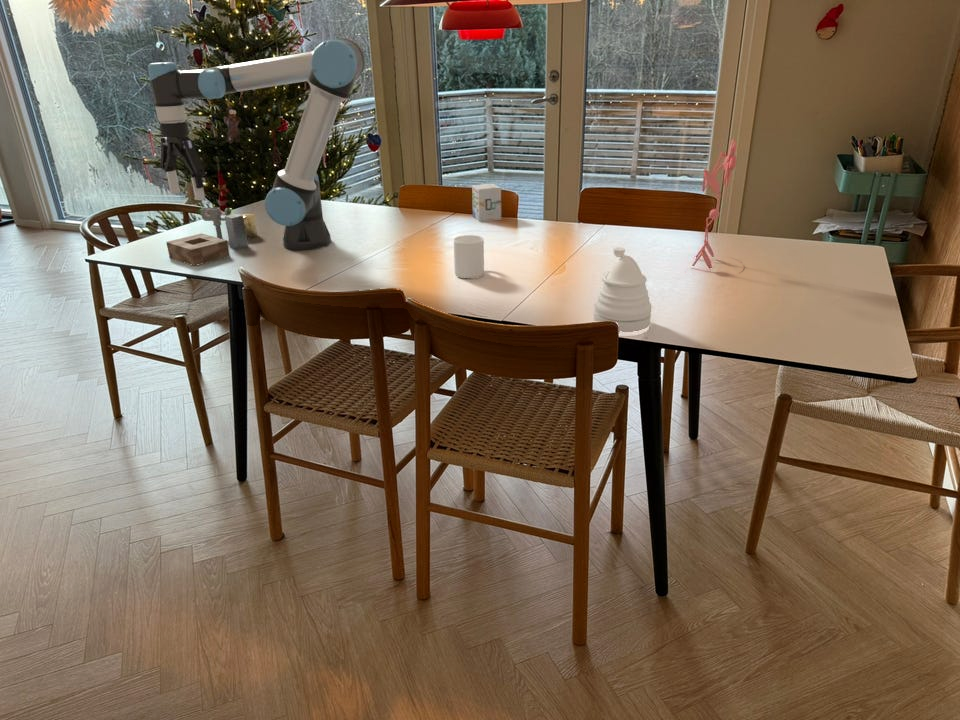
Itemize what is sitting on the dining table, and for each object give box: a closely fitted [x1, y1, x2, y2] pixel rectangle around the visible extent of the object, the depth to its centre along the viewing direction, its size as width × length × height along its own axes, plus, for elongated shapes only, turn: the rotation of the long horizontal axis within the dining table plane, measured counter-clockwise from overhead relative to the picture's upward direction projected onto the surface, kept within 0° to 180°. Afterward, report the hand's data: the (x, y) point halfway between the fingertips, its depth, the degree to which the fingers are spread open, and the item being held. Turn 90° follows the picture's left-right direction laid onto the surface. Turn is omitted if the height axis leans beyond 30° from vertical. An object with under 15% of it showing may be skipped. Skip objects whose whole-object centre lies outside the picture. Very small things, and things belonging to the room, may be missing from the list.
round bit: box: [240, 213, 258, 240], centre depth 234 cm, size 6×6×7 cm
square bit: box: [224, 213, 249, 250], centre depth 223 cm, size 4×4×10 cm
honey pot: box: [593, 246, 652, 332], centre depth 158 cm, size 13×13×18 cm
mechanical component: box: [198, 207, 232, 239], centre depth 232 cm, size 3×10×10 cm, turn 89°
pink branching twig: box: [691, 138, 738, 270], centre depth 192 cm, size 15×26×35 cm, turn 158°
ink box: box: [471, 182, 502, 223], centre depth 250 cm, size 9×8×12 cm
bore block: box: [165, 232, 231, 266], centre depth 214 cm, size 14×12×5 cm
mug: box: [453, 234, 485, 280], centre depth 195 cm, size 12×8×10 cm
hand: (187, 196), depth 207 cm, fingers open, 13 cm apart
